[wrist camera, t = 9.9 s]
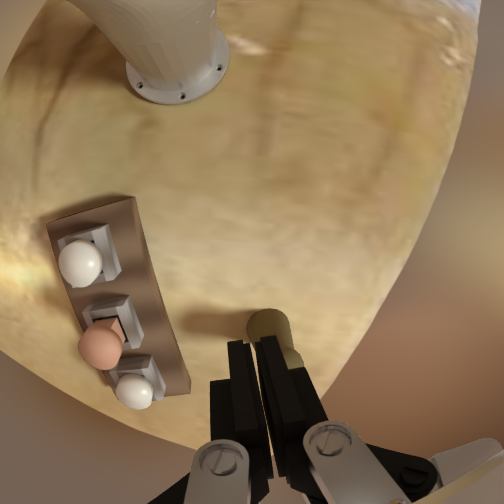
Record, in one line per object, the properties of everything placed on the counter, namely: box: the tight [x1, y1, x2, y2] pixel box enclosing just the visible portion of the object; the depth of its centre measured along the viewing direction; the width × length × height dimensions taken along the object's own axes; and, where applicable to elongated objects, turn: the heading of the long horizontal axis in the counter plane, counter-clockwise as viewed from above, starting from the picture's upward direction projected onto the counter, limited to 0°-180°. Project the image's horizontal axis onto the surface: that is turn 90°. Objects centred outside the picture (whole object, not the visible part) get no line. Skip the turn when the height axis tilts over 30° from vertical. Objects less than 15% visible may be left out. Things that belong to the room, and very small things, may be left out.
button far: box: [116, 374, 153, 409], centre depth 34 cm, size 5×5×5 cm
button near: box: [59, 239, 103, 287], centre depth 29 cm, size 5×5×5 cm
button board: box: [46, 197, 191, 401], centre depth 34 cm, size 28×12×6 cm, turn 10°
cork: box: [247, 309, 304, 369], centre depth 35 cm, size 6×6×11 cm
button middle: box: [78, 317, 125, 370], centre depth 29 cm, size 5×5×5 cm
